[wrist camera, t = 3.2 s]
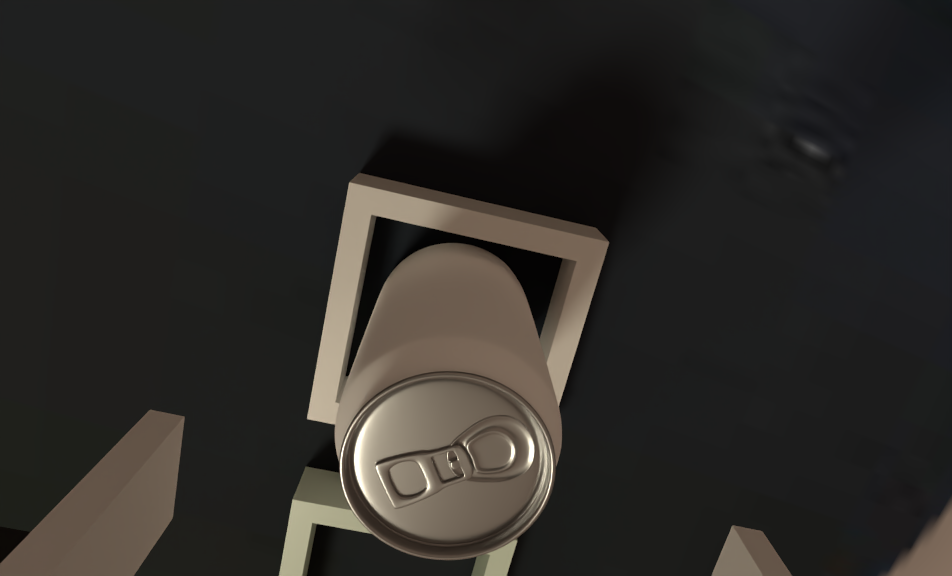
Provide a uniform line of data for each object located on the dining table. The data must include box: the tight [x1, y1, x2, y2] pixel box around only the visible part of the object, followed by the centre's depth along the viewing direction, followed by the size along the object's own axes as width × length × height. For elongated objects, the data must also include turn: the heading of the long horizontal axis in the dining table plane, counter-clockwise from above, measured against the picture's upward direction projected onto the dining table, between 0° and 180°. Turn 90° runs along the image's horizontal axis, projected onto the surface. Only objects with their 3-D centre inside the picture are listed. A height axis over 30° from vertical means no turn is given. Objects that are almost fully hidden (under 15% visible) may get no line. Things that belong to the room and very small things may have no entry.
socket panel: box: [279, 173, 609, 576], centre depth 29 cm, size 24×10×2 cm, turn 167°
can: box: [335, 243, 562, 560], centre depth 22 cm, size 6×6×12 cm
